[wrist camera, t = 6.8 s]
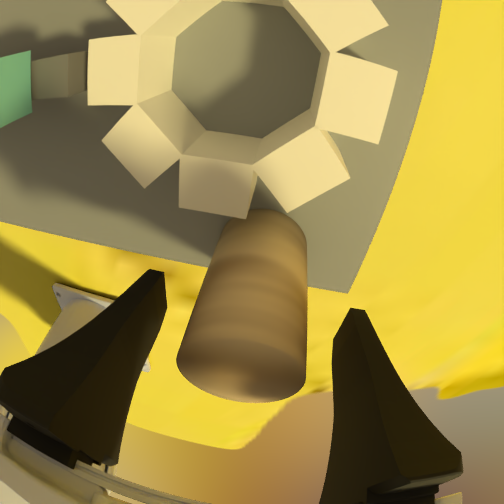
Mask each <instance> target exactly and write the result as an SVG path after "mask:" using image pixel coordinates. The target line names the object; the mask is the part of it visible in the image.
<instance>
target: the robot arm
mask: <svg viewBox="0 0 504 504" xmlns="http://www.w3.org/2000/svg"><path fill="white" fill-rule="evenodd" d="M52 288H53V291H54V293H55V296H56V298H57V301H58V303H59V305H60V307H61V310H62V311H61V313H60V314H59V316H58V318H57V319H56V321H55V322H54V324H53V325H52V327H51V329H50V330H49V332H48V334H47V335H46V337H45V339H44V340H43V342H42V344H41V345H40V347H39V349H38V350H37V352H36V354H35V356H33V357H30V358H28V359H26V360H24V361H21V362H19V363H16V364H14V365H11V366H9V367H6V368H5V369H4V370H3V372H2V374H1V375H0V504H131V503H128V502H125V501H122V500H119V499H117V498H114V497H111V496H109V495H110V493H111V491H113V492H116V493H118V494H121V495H123V496H126V497H129V498H132V499H134V500H138V501H140V502H143V503H146V504H210V503H204V502H200V501H195V500H191V499H186V498H182V497H178V496H175V495H171V494H167V493H164V492H160V491H157V490H154V489H150V488H147V487H144V486H141V485H138V484H135V483H132V482H129V481H127V480H124V479H121V478H119V477H116V464H118V459H119V453H120V446H121V442H122V437H123V431H124V427H125V423H126V419H127V415H128V411H129V407H130V404H131V400H132V397H133V393H134V390H135V387H136V384H137V381H138V378H139V376H140V373H141V371H145V372H149V371H150V369H151V367H150V363H149V359H148V355H149V353H150V351H151V349H152V347H153V344H154V342H155V340H156V338H157V335H158V333H159V331H160V328H161V325H162V322H163V319H164V316H165V313H166V310H167V300H166V289H165V277H164V272H161V271H156V270H152V269H149V270H147V271H146V272H145V273H144V274H143V275H142V276H141V277H140V278H139V279H138V280H137V281H136V282H135V283H134V284H132V285H131V286H130V287H129V288H128V289H127V290H126V291H125V292H124V293H123V294H122V295H120V296H119V297H118V298H117V299H116V300H111V299H108V298H104V297H101V296H97V295H94V294H91V293H87V292H84V291H81V290H78V289H74V288H71V287H68V286H65V285H62V284H59V283H54V285H53V286H52ZM332 379H333V401H334V422H333V433H332V441H331V449H330V456H329V462H328V468H327V473H326V479H325V483H324V487H323V491H322V495H321V498H320V502H319V504H462V493H461V492H459V493H455V494H452V495H448V496H444V497H441V498H437V499H435V496H434V494H436V493H438V491H439V485H440V484H443V483H445V482H448V481H450V480H453V479H455V478H457V477H459V476H461V474H462V473H463V464H462V456H461V452H460V451H459V450H458V449H457V448H456V447H455V446H454V445H452V444H451V443H450V442H449V441H448V440H447V439H446V438H445V437H444V436H443V435H442V434H441V433H440V431H439V430H438V429H437V428H436V427H435V426H434V425H433V423H432V422H431V421H430V420H429V419H428V417H427V416H426V415H425V414H424V412H423V411H422V410H421V409H420V407H419V406H418V405H417V403H416V402H415V400H414V399H413V397H412V396H411V394H410V393H409V391H408V390H407V388H406V387H405V385H404V384H403V382H402V381H401V379H400V377H399V375H398V374H397V372H396V370H395V368H394V367H393V365H392V363H391V361H390V359H389V357H388V355H387V353H386V352H385V350H384V348H383V346H382V344H381V342H380V340H379V338H378V336H377V334H376V332H375V330H374V328H373V326H372V323H371V321H370V319H369V317H368V315H367V314H366V312H365V310H361V309H354V308H350V310H349V312H348V313H347V315H346V317H345V319H344V321H343V323H342V324H341V326H340V328H339V330H338V332H337V333H336V335H335V337H334V339H333V350H332Z"/></svg>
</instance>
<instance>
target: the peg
mask: <svg viewBox="0 0 504 504" xmlns="http://www.w3.org/2000/svg"><path fill="white" fill-rule="evenodd" d="M306 357H307V241H306V237H305V235H304V233H303V231H302V229H301V228H300V226H299V225H298V224H297V223H296V222H295V221H294V220H293V219H291V218H290V217H288V216H287V215H285V214H283V213H281V212H278V211H275V210H271V209H251V210H249V211H248V214H247V218H246V219H241V218H236V217H233V218H231V219H230V220H229V221H228V222H227V224H226V225H225V226H224V228H223V230H222V233H221V235H220V238H219V241H218V243H217V246H216V249H215V251H214V254H213V257H212V259H211V262H210V265H209V267H208V270H207V273H206V275H205V278H204V281H203V284H202V286H201V289H200V292H199V295H198V297H197V300H196V303H195V306H194V308H193V311H192V314H191V317H190V320H189V323H188V325H187V328H186V331H185V334H184V337H183V340H182V343H181V346H180V348H179V351H178V354H177V358H176V362H177V366H178V368H179V371H180V372H181V373H182V375H183V376H184V377H185V378H186V379H187V380H188V381H189V382H191V383H192V384H193V385H195V386H196V387H198V388H200V389H201V390H203V391H205V392H207V393H210V394H212V395H215V396H218V397H221V398H224V399H228V400H233V401H238V402H247V403H266V402H274V401H279V400H282V399H285V398H288V397H290V396H292V395H294V394H296V393H297V392H298V391H299V390H301V388H302V387H303V386H304V383H305V380H306Z"/></svg>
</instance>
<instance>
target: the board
mask: <svg viewBox="0 0 504 504" xmlns="http://www.w3.org/2000/svg"><path fill="white" fill-rule="evenodd" d="M441 4H442V0H0V58H1V57H5V56H9V55H13V54H17V53H21V52H25V51H30V50H31V100H32V113H30V114H28V115H26V116H24V117H22V118H19V119H17V120H15V121H13V122H11V123H9V124H7V125H5V126H3V127H1V128H0V221H1V222H5V223H9V224H13V225H17V226H21V227H25V228H29V229H34V230H38V231H42V232H46V233H50V234H55V235H59V236H63V237H68V238H72V239H76V240H81V241H85V242H90V243H94V244H99V245H103V246H108V247H112V248H117V249H121V250H126V251H131V252H135V253H140V254H145V255H149V256H154V257H159V258H164V259H168V260H173V261H178V262H183V263H188V264H193V265H198V266H203V267H209V265H210V262H211V259H212V257H213V254H214V251H215V249H216V246H217V243H218V241H219V238H220V235H221V233H222V230H223V228H224V226H225V225H226V224H227V222H228V221H229V220H230V219H231V218H233V217H236V218H241V219H246V218H247V214H248V211H249V210H251V209H271V210H275V211H278V212H281V213H283V214H285V215H287V216H288V217H290V218H291V219H293V220H294V221H295V222H296V223H297V224H298V225H299V226H300V228H301V229H302V231H303V233H304V235H305V237H306V241H307V286H308V287H314V288H319V289H325V290H331V291H336V292H342V293H348V292H349V290H350V288H351V286H352V284H353V282H354V280H355V277H356V275H357V273H358V271H359V269H360V267H361V264H362V262H363V260H364V258H365V255H366V253H367V251H368V249H369V246H370V244H371V242H372V239H373V237H374V235H375V232H376V230H377V227H378V225H379V222H380V220H381V217H382V215H383V212H384V210H385V207H386V205H387V202H388V200H389V197H390V194H391V192H392V189H393V186H394V184H395V181H396V178H397V175H398V172H399V170H400V167H401V164H402V161H403V158H404V155H405V152H406V149H407V146H408V143H409V140H410V136H411V133H412V130H413V127H414V123H415V120H416V117H417V113H418V110H419V106H420V102H421V99H422V95H423V91H424V87H425V83H426V79H427V75H428V71H429V67H430V63H431V58H432V54H433V49H434V44H435V39H436V34H437V28H438V23H439V17H440V10H441Z"/></svg>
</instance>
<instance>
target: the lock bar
mask: <svg viewBox="0 0 504 504" xmlns="http://www.w3.org/2000/svg"><path fill="white" fill-rule="evenodd" d="M30 113H32V100H31V50H30V51H25V52H21V53H17V54H13V55H9V56H5V57H1V58H0V128H1V127H3V126H5V125H7V124H9V123H11V122H13V121H15V120H17V119H19V118H22V117H24V116H26V115H28V114H30Z"/></svg>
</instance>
